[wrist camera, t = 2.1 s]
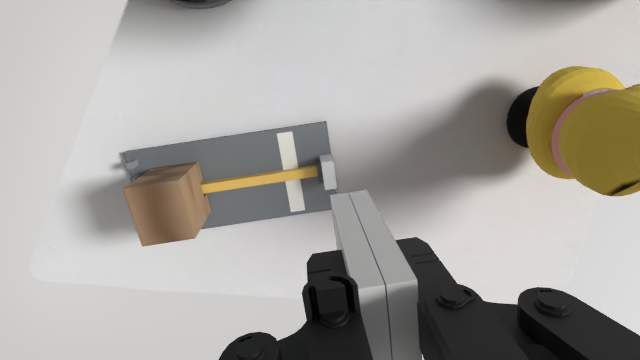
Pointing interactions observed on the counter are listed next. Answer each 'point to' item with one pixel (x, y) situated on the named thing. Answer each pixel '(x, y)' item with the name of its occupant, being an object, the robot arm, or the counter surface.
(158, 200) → the cardboard box
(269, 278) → the counter surface
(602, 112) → the toy
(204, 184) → the sliding block track
